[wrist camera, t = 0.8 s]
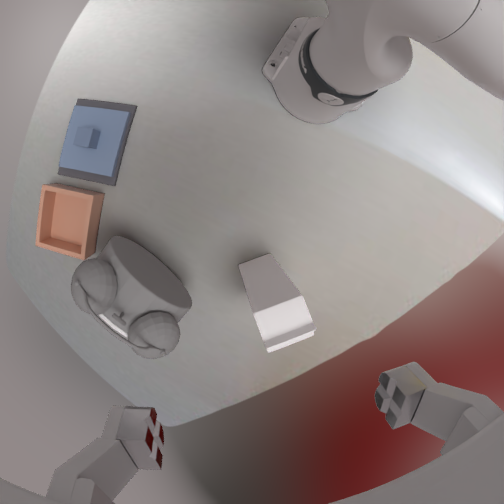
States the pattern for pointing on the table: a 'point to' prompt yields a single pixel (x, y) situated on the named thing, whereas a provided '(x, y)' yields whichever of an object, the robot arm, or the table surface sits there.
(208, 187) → the table surface
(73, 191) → the dish
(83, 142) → the lid
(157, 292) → the alarm clock
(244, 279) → the milk
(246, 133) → the table surface
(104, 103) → the mat
